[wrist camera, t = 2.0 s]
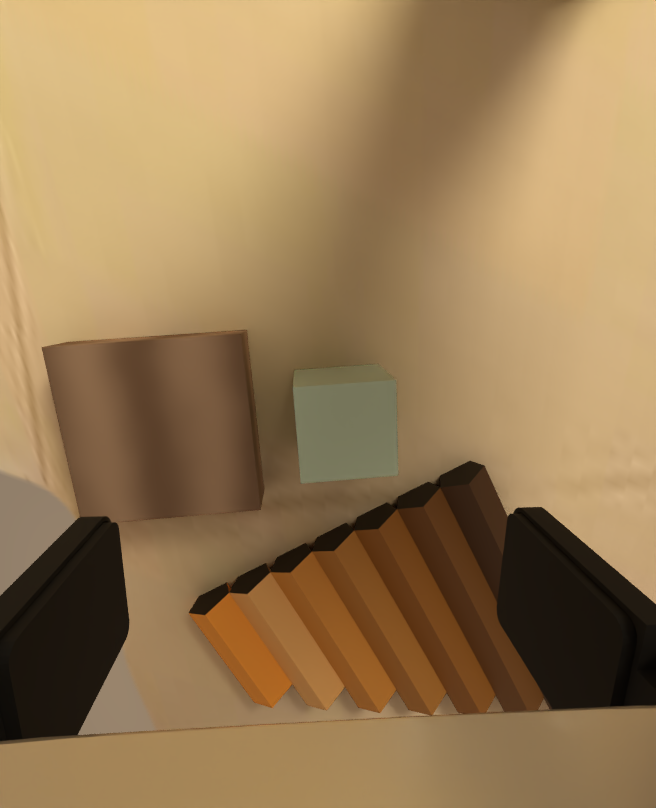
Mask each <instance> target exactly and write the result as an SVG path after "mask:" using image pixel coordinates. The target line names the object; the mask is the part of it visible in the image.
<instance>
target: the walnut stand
mask: <svg viewBox="0 0 656 808" xmlns="http://www.w3.org/2000/svg"><path fill="white" fill-rule="evenodd" d="M42 351H43V355H44V360H45V364H46V369H47V373H48V377H49V382H50V386H51V391H52V395H53V399H54V404H55V408H56V413H57V417H58V421H59V426H60V430H61V435H62V439H63V443H64V448H65V452H66V456H67V461H68V465H69V470H70V474H71V478H72V483H73V487H74V492H75V496H76V500H77V505H78V509H79V514H80V517H93V516H107V517H109V518H110V520H111V522H124V521H136V520H148V519H159V518H171V517H183V516H194V515H206V514H218V513H229V512H241V511H253V510H261V505H262V500H263V494H264V484H263V475H262V466H261V457H260V447H259V438H258V429H257V420H256V410H255V401H254V392H253V383H252V373H251V364H250V355H249V346H248V336H247V330H239V331H224V332H210V333H195V334H180V335H165V336H150V337H135V338H121V339H106V340H91V341H76V342H66V343H61V344H56V345H51V346H46V347H42Z"/></svg>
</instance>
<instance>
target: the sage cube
mask: <svg viewBox="0 0 656 808" xmlns="http://www.w3.org/2000/svg"><path fill="white" fill-rule="evenodd" d="M293 397H294V409H295V421H296V433H297V445H298V456H299V468H300V480H301V484H304V483H316V482H328V481H340V480H352V479H364V478H376V477H388V476H398V437H397V393H396V379H395V378H394V377H392V376H391V375H390V374H389V373H388V372H387V371H386V370H385V369H384V368H382V367H381V366H380V365H379V364H370V365H356V366H342V367H328V368H314V369H300V370H294V378H293Z"/></svg>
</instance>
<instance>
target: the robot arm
mask: <svg viewBox="0 0 656 808" xmlns="http://www.w3.org/2000/svg"><path fill="white" fill-rule="evenodd" d="M497 617H498V620H499V623H500V625H501V626H502V628H503V630H504V631H505V633H506V635H507V636H508V638H509V639H510V641H511V643H512V644H513V646H514V647H515V649H516V651H517V652H518V654H519V656H520V657H521V659H522V660H523V662H524V664H525V665H526V667H527V668H528V670H529V672H530V673H531V675H532V677H533V678H534V680H535V681H536V683H537V685H538V686H539V688H540V689H541V691H542V693H543V694H544V696H545V698H546V699H547V701H548V702H549V704H550V706H551V707H552V709H553V710H531V711H510V712H489V713H469V714H450V715H430V716H411V717H392V718H373V719H354V720H335V721H317V722H298V723H280V724H262V725H244V726H226V727H208V728H190V729H174V730H157V731H140V732H124V733H107V734H89V735H78V733H79V731H80V729H81V727H82V725H83V723H84V721H85V719H86V717H87V715H88V713H89V711H90V709H91V707H92V705H93V703H94V701H95V699H96V697H97V695H98V693H99V691H100V689H101V687H102V685H103V683H104V681H105V679H106V678H107V676H108V674H109V671H110V670H111V668H112V666H113V664H114V662H115V660H116V658H117V656H118V654H119V652H120V650H121V648H122V646H123V644H124V642H125V640H126V638H127V635H128V630H129V614H128V606H127V597H126V588H125V579H124V570H123V561H122V553H121V544H120V535H119V528H118V525H117V523H116V522H111V520H110V518H109V517H107V516H93V517H80V518H78V519H77V520H76V521H75V522H74V523H73V524H72V525H71V526H70V527H69V528H68V529H67V530H66V531H65V532H64V533H63V534H62V535H61V536H60V537H59V538H58V539H57V540H56V541H55V542H54V543H53V544H52V545H51V546H50V547H49V548H48V549H47V550H46V551H45V552H44V553H43V554H42V555H41V556H40V557H39V558H38V559H37V560H36V561H35V562H34V563H33V564H32V565H31V566H30V567H29V568H28V569H27V570H26V571H25V572H24V573H23V574H22V575H21V576H20V577H19V578H18V579H17V580H16V581H15V582H14V583H13V584H12V585H11V586H10V587H9V588H8V589H7V590H6V591H5V592H4V593H3V594H2V595H1V596H0V808H656V604H655V603H654V602H653V601H651V600H650V599H649V598H648V597H647V596H646V595H644V594H643V593H642V592H641V591H640V590H639V589H637V588H636V587H635V586H634V585H633V584H632V583H630V582H629V581H628V580H627V579H626V578H625V577H623V576H622V575H621V574H620V573H619V572H617V571H616V570H615V569H614V568H613V567H612V566H610V565H609V564H608V563H607V562H606V561H605V560H603V559H602V558H601V557H600V556H599V555H598V554H596V553H595V552H594V551H593V550H592V549H591V548H589V547H588V546H587V545H586V544H585V543H584V542H582V541H581V540H580V539H579V538H578V537H577V536H575V535H574V534H573V533H572V532H571V531H570V530H568V529H567V528H566V527H565V526H564V525H563V524H561V523H560V522H559V521H558V520H557V519H555V518H554V517H553V516H552V515H551V514H550V513H548V512H547V511H546V510H545V509H543V508H542V507H527V508H517V509H515V511H514V514H510V515H509V516H508V518H507V525H506V533H505V541H504V550H503V558H502V566H501V575H500V583H499V591H498V599H497Z"/></svg>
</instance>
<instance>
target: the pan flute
mask: <svg viewBox="0 0 656 808" xmlns="http://www.w3.org/2000/svg"><path fill="white" fill-rule="evenodd" d="M507 518H508V517H507V514H506V512H505V510H504V508H503V506H502V503H501V501H500V499H499V497H498V495H497V492H496V490H495V488H494V486H493V484H492V481H491V479H490V477H489V475H488V473H487V470H486V468H485V466H484V465H481V464H478V463H475V462H472V461H469V462H467V463H465V464H463V465H461V466H459V467H457V468H455V469H453V470H451V471H449V472H447V473H445V474H443V475H441V476H440V487H438V486H436V485H434V484H432V483H430V482H427V483H425V484H423V485H421V486H419V487H417V488H415V489H413V490H411V491H409V492H407V493H405V494H403V495H401V496H399V497H398V504H397V509H396V508H394V507H393V506H391V505H390V504H388V503H385V504H383V505H381V506H379V507H377V508H375V509H373V510H371V511H369V512H367V513H365V514H363V515H361V516H359V517H357V521H356V525H355V529H354V530H353V529H352V528H351V527H350V526H349V525H348V524H347V523H345V524H343V525H341V526H339V527H337V528H335V529H333V530H331V531H329V532H327V533H325V534H323V535H321V536H319V537H317V539H316V542H315V544H314V547H313V550H312V551H311V550H310V548H309V547H308V546H307V544H306V543H305V544H303V545H301V546H299V547H297V548H295V549H293V550H291V551H289V552H287V553H285V554H283V555H281V556H279V557H277V559H276V561H275V563H274V565H273V567H272V570H270V568H269V567H268V565H267V564H266V563H265V564H263V565H261V566H259V567H257V568H255V569H253V570H251V571H249V572H247V573H245V574H243V575H241V576H239V577H238V578H237V579H236V581H235V583H234V585H233V587H232V589H231V588H230V587H229V585H228V584H227V583H225V584H223V585H221V586H219V587H217V588H215V589H213V590H211V591H209V592H207V593H205V594H203V595H201V596H199V597H198V599H197V600H196V602H195V604H194V605H193V607H192V608H191V610H190V612H189V614H190V616H191V617H192V619H193V620H194V621H195V623H196V624H197V625H198V627H199V628H200V629H201V631H202V632H203V633H204V635H205V636H206V638H207V639H208V640H209V642H210V643H211V644H212V646H213V647H214V648H215V650H216V651H217V652H218V654H219V655H220V657H221V658H222V659H223V661H224V662H225V663H226V665H227V666H228V667H229V669H230V670H231V671H232V673H233V674H234V676H235V677H236V678H237V680H238V681H239V682H240V684H241V685H242V686H243V688H244V689H245V690H246V692H247V693H248V695H249V696H250V697H251V699H252V700H253V701H254V702H255V703H258V704H261V705H264V706H268V707H271V708H273V707H274V705H275V704H276V703H277V702H278V701H279V699H280V698H281V697H282V696H283V695H284V694H285V692H286V691H287V690H288V689H289V688H290V686H291V685H292V684H293V686H294V687H295V689H296V690H297V691H298V693H299V694H300V696H301V697H302V699H303V700H304V701H305V703H306V704H307V705H309V706H312V707H316V708H320V709H323V710H328V708H329V707H330V706H331V704H332V703H333V702H334V701H335V699H336V698H337V697H338V695H339V694H340V693H341V691H342V690H343V689H344V688H346V689H347V691H348V692H349V694H350V695H351V697H352V698H353V700H354V701H355V703H356V705H357V706H358V708H362V709H366V710H370V711H374V712H378V713H380V712H381V711H382V710H383V708H384V707H385V705H386V704H387V702H388V701H389V700H390V698H391V697H392V695H393V694H394V692H395V691H396V690H397V692H398V693H399V695H400V696H401V698H402V700H403V701H404V703H405V705H406V706H407V708H408V710H411V711H415V712H419V713H423V714H428V715H433V713H434V712H435V710H436V709H437V707H438V705H439V704H440V702H441V701H442V699H443V697H444V696H445V694H446V692H447V694H448V696H449V697H450V699H451V701H452V703H453V704H454V706H455V708H456V710H457V711H458V712H459V713H463V714H469V713H486V712H487V710H488V708H489V706H490V705H491V703H492V701H493V699H494V697H495V695H496V696H497V698H498V700H499V702H500V704H501V706H502V708H503V709H504V711H505V712H510V711H531V710H538V709H539V707H540V705H541V702H542V700H543V698H544V699H545V701H546V703H547V705H548V707H549V709H550V710H553V709H552V707H551V706H550V704H549V702H548V701H547V699H546V698H545V696H544V694H543V693H542V691H541V689H540V688H539V686H538V685H537V683H536V681H535V680H534V678H533V677H532V675H531V673H530V672H529V670H528V668H527V667H526V665H525V664H524V662H523V660H522V659H521V657H520V656H519V654H518V652H517V651H516V649H515V647H514V646H513V644H512V643H511V641H510V639H509V638H508V636H507V635H506V633H505V631H504V630H503V628H502V626H501V625H500V623H499V620H498V617H497V599H498V591H499V583H500V575H501V566H502V558H503V550H504V541H505V533H506V525H507Z"/></svg>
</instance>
